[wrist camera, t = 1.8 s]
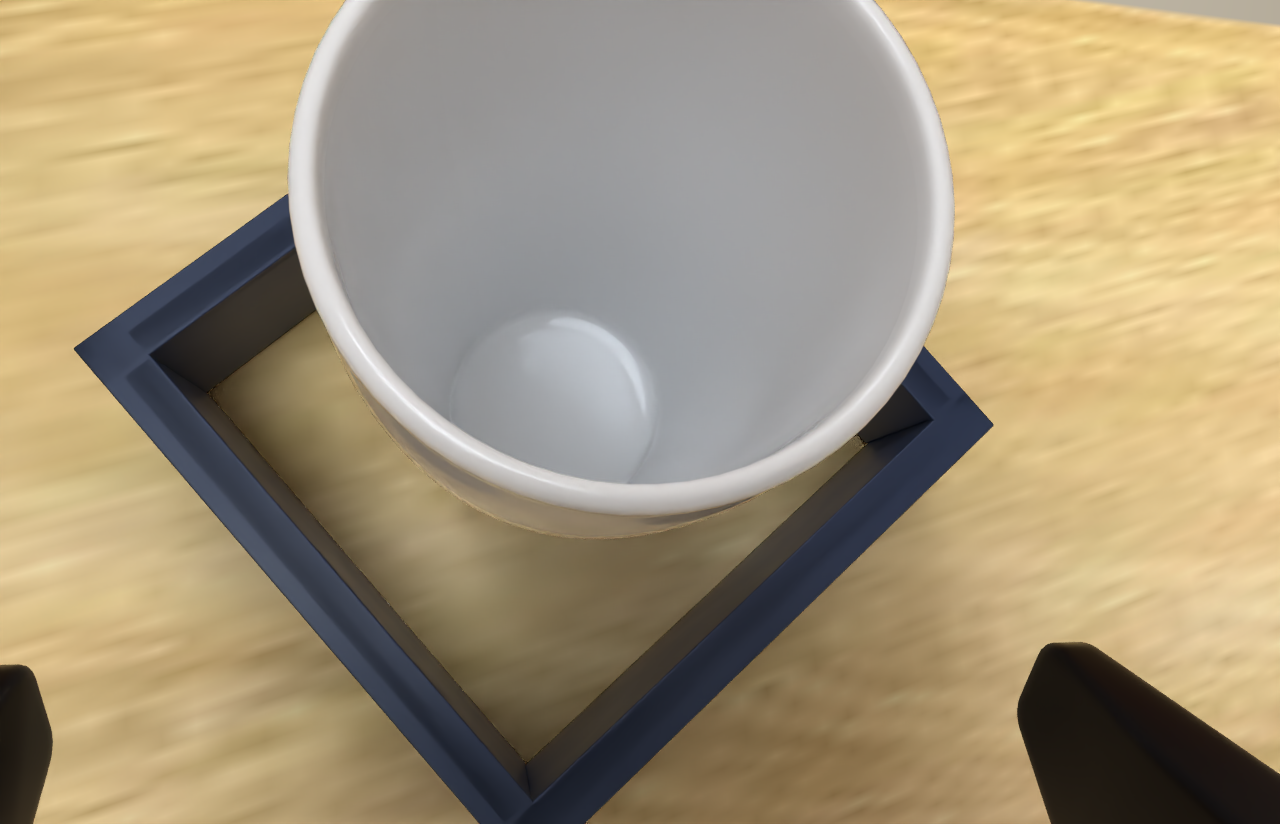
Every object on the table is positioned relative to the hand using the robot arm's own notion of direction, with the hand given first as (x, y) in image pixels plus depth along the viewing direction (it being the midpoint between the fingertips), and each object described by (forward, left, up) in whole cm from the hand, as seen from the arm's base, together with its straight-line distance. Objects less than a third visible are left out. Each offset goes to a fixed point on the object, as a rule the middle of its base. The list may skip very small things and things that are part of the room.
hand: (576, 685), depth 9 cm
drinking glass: (+3, -4, -15) cm, 16 cm away
